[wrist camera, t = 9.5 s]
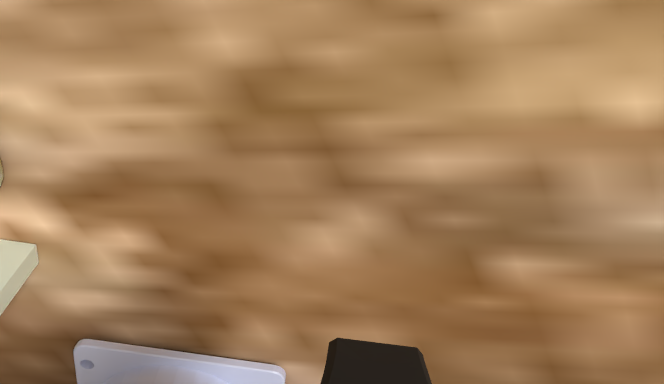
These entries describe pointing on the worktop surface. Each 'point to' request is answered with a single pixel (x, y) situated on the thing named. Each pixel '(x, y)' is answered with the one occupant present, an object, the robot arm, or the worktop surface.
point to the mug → (1, 173)
